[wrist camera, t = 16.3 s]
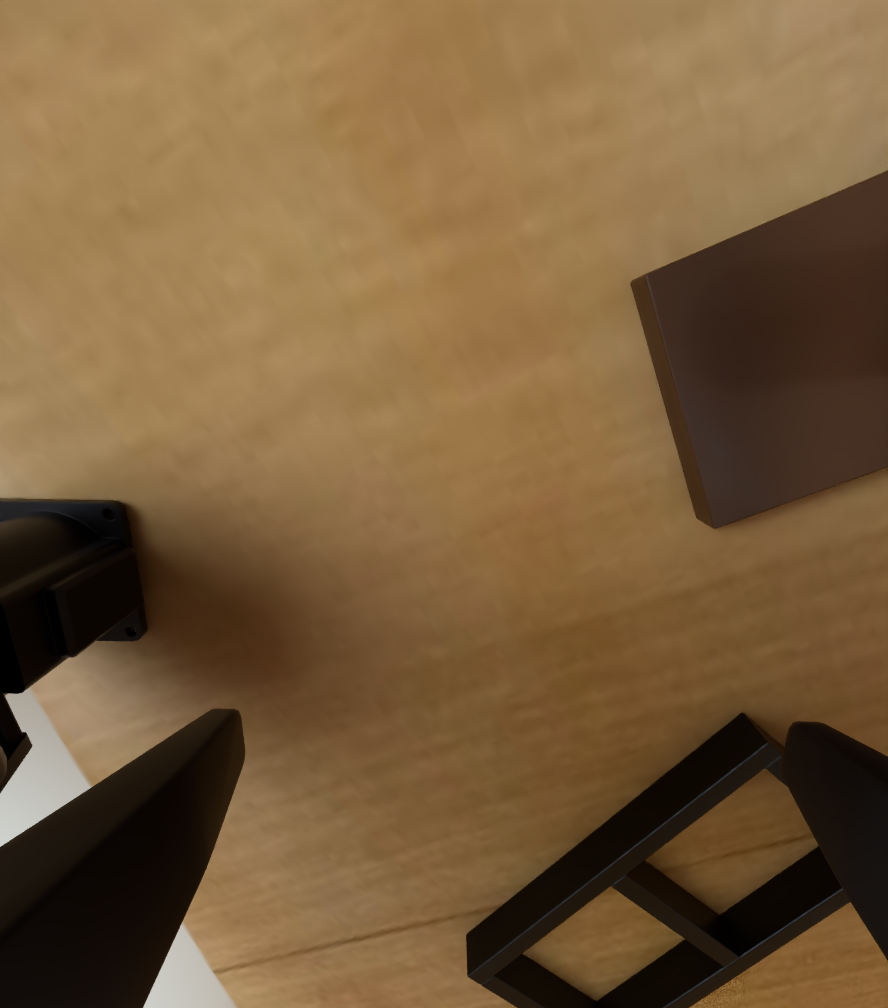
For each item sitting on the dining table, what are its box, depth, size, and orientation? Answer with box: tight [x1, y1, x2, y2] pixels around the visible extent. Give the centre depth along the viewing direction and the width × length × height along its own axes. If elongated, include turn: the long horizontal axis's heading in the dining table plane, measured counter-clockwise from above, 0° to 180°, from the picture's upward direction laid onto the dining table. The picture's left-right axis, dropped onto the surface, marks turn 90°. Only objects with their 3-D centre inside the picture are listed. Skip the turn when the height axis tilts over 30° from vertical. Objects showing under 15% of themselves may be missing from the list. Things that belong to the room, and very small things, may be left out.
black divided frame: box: [466, 713, 850, 1008], centre depth 25 cm, size 10×20×2 cm, turn 139°
